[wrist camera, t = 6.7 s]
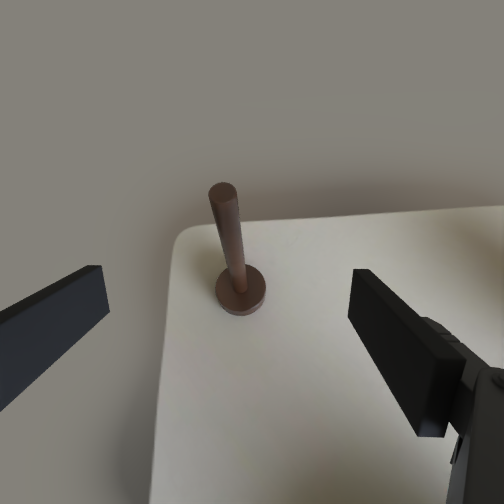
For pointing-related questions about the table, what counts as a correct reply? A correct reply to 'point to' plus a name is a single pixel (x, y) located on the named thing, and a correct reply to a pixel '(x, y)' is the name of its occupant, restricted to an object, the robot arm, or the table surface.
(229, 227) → the paper towel holder
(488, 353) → the table surface
